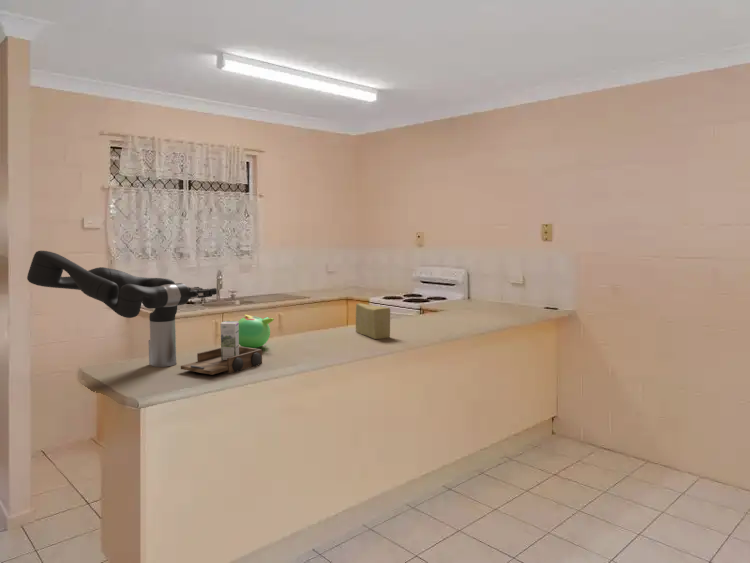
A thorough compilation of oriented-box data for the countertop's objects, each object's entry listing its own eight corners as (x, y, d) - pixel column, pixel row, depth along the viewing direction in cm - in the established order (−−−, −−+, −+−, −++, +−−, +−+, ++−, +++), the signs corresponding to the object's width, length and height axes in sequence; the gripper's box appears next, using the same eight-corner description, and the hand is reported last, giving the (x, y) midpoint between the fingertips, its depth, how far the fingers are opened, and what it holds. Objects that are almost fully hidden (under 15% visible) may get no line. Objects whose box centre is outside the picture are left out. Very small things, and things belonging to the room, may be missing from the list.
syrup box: (239, 357, 223) (239, 320, 222) (235, 361, 217) (235, 323, 216) (224, 357, 223) (224, 320, 222) (220, 361, 217) (220, 323, 216)
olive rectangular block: (348, 333, 291) (348, 303, 290) (364, 331, 297) (364, 302, 296) (374, 340, 273) (374, 308, 272) (390, 337, 279) (391, 307, 278)
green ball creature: (231, 344, 259) (230, 312, 258) (268, 342, 265) (268, 310, 264) (236, 353, 243) (235, 318, 241) (276, 350, 249) (276, 316, 247)
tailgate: (180, 369, 209) (180, 364, 209) (197, 364, 216) (197, 359, 216) (211, 374, 202) (211, 369, 202) (228, 369, 209) (228, 365, 208)
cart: (196, 367, 217) (195, 353, 217) (230, 358, 233) (229, 344, 232) (230, 373, 208) (230, 358, 208) (263, 363, 224) (263, 349, 224)
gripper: (157, 304, 198) (193, 299, 212) (187, 307, 191) (222, 302, 205) (156, 282, 197) (193, 279, 211) (186, 285, 190) (221, 281, 204)
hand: (207, 290), depth 208 cm, fingers open, 8 cm apart
